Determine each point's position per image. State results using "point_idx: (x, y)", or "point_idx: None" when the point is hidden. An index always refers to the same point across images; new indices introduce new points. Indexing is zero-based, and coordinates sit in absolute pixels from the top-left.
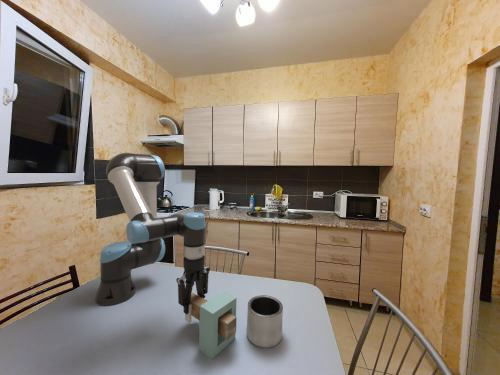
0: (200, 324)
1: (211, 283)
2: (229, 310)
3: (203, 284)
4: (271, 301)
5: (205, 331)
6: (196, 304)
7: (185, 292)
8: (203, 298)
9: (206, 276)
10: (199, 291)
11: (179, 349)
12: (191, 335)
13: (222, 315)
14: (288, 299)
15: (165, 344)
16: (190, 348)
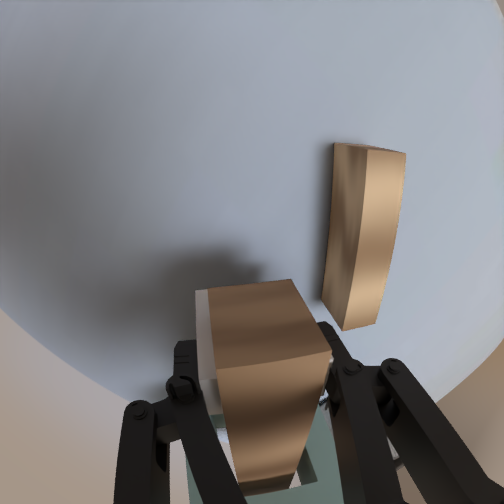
0: (187, 461)
1: (486, 87)
2: (303, 482)
3: (404, 437)
4: None
5: None
6: (234, 450)
7: (197, 486)
8: (398, 213)
9: (432, 502)
10: (337, 432)
11: (124, 342)
12: (193, 319)
13: (262, 493)
14: (470, 347)
15: (85, 289)
16: (159, 360)
